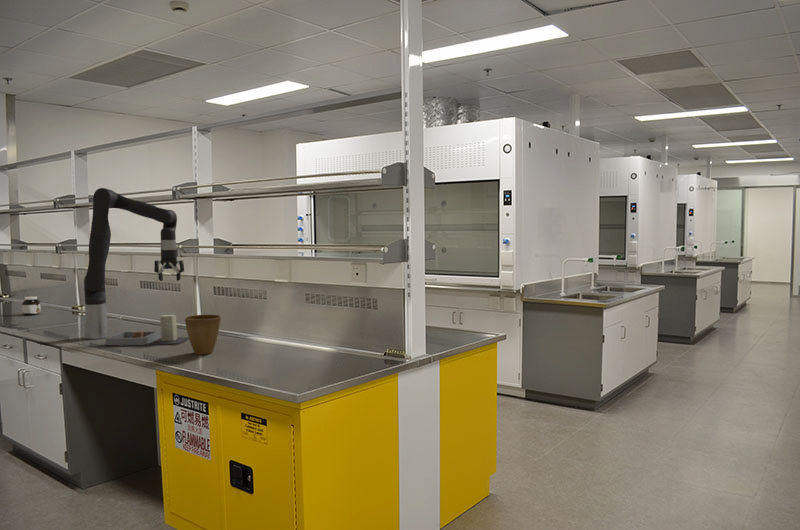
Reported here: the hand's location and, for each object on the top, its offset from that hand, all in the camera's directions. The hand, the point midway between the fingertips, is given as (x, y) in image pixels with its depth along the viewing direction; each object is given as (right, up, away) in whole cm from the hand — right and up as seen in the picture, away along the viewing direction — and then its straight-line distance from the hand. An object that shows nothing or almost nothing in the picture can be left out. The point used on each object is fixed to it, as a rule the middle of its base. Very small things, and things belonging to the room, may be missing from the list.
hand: (169, 280), depth 283 cm
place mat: (+6, -29, -15) cm, 33 cm away
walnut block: (-12, -29, -9) cm, 33 cm away
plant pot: (+32, -31, -40) cm, 59 cm away
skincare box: (+6, -29, -15) cm, 33 cm away
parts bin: (-12, -29, -14) cm, 34 cm away
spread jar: (-123, -25, +79) cm, 148 cm away
